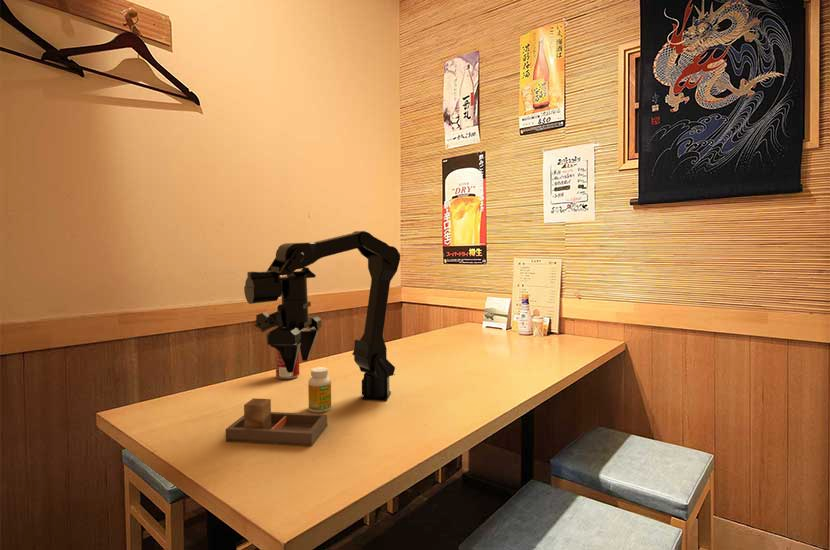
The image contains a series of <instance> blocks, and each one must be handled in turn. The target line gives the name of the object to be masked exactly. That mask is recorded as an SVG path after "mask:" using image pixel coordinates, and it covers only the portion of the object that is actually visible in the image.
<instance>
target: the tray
mask: <svg viewBox="0 0 830 550" xmlns="http://www.w3.org/2000/svg"><path fill="white" fill-rule="evenodd" d="M327 428H328V414H325V413H322V414H320V413H304V412H302V413H301V412H283V411H282V412H280V411H279V412H278V411H271V427H270V428H269V429H256V428H245V424H244V414H243V415H242V416H241V417H239V418H238V419H237V420H235V421H234V422H232V423H231V424H230V425H229V426H228V427H227V428H225V442H227V443H228V442H229V443H245V444H246V443H247V444H248V443H249V444H264V445H282V446H283V445H284V446H300V447H301V446H302V447H313V446H314V444H315V442H316V441H317V440H318V439H319V438H320V437H321V435H322V434H323V432H324V431H325V430H326V429H327Z"/></svg>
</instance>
